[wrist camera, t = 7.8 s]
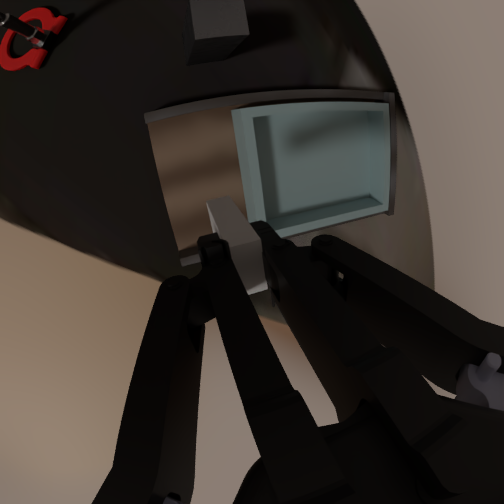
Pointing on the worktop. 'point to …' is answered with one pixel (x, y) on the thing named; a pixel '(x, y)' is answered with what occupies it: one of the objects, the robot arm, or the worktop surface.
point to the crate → (313, 162)
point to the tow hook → (29, 37)
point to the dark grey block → (213, 29)
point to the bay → (226, 156)
